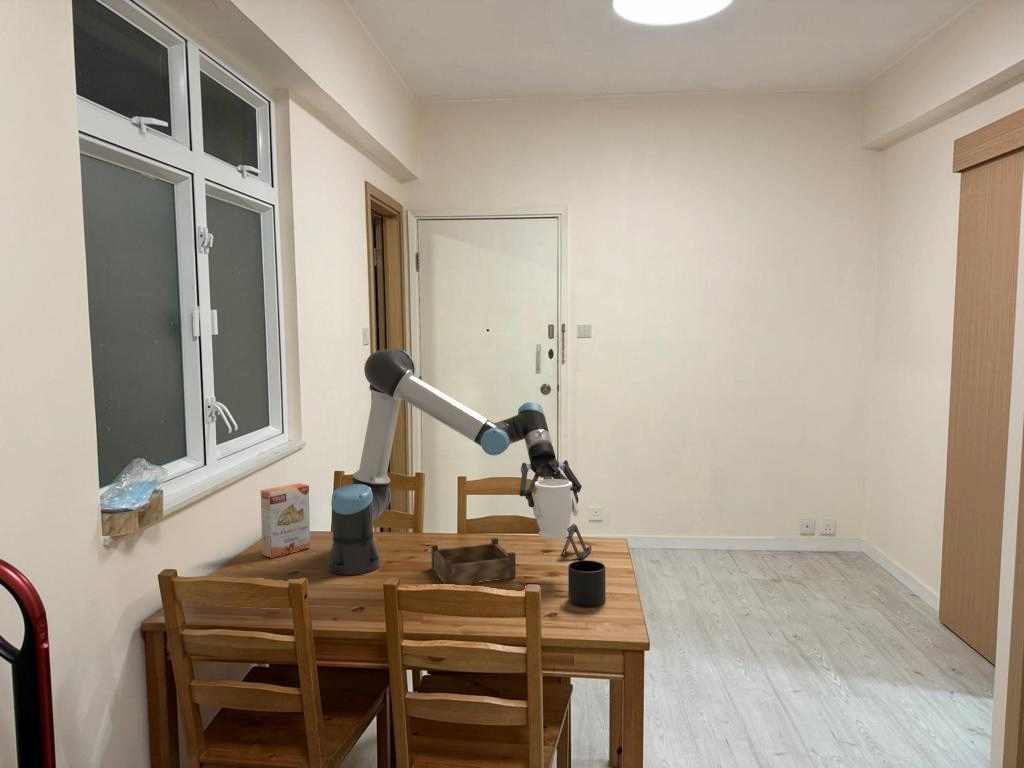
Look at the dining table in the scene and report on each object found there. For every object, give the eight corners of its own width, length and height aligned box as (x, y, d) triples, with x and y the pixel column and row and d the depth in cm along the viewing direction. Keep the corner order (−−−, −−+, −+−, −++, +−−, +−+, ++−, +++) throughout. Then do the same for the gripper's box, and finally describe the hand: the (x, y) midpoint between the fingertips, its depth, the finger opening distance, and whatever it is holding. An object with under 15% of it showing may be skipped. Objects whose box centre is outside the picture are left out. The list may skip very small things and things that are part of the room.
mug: (607, 591, 192) (607, 557, 191) (604, 608, 180) (604, 573, 179) (571, 589, 194) (571, 556, 193) (566, 606, 182) (566, 571, 181)
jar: (561, 543, 194) (560, 488, 193) (527, 537, 200) (527, 484, 198) (579, 533, 203) (579, 480, 202) (546, 528, 208) (546, 476, 207)
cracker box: (272, 560, 222) (269, 492, 220) (261, 556, 226) (259, 489, 224) (311, 548, 232) (309, 484, 231) (301, 545, 236) (298, 482, 235)
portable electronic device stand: (582, 560, 217) (582, 533, 217) (558, 557, 220) (557, 530, 220) (591, 552, 225) (591, 525, 225) (567, 549, 228) (567, 523, 228)
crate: (446, 587, 196) (445, 562, 196) (431, 568, 212) (431, 545, 211) (515, 578, 203) (515, 553, 202) (496, 560, 219) (496, 537, 218)
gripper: (504, 443, 206) (518, 510, 192) (580, 439, 212) (600, 504, 198) (499, 458, 212) (513, 525, 198) (574, 454, 217) (593, 518, 204)
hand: (556, 514), depth 198 cm, fingers closed on jar, 10 cm apart
